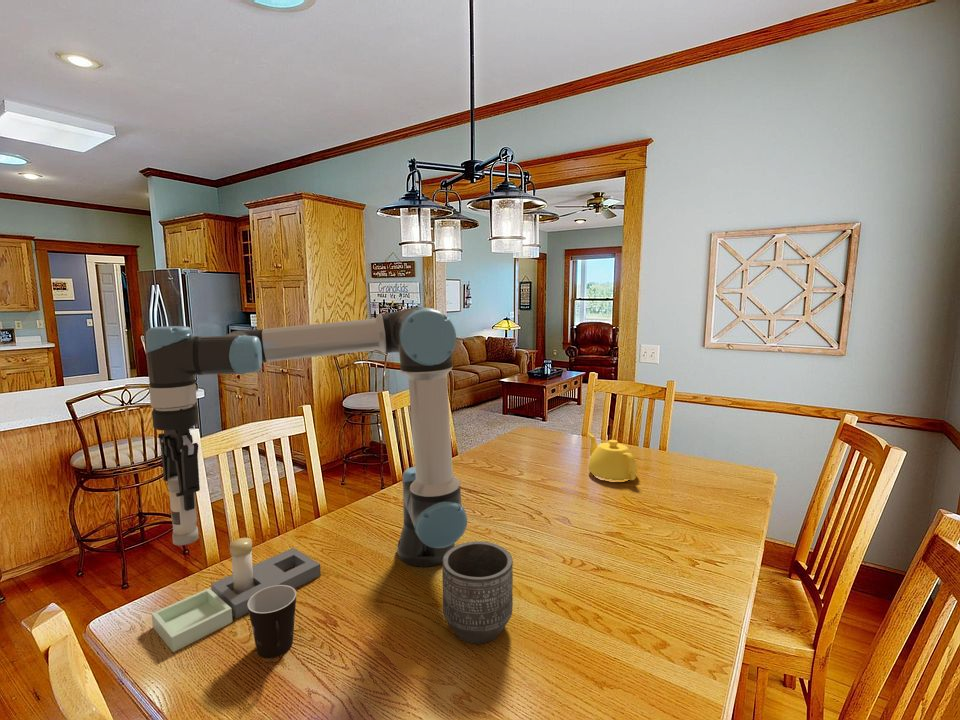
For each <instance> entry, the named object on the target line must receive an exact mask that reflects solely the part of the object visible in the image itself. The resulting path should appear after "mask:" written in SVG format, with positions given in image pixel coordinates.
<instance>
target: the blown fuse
mask: <svg viewBox="0 0 960 720" xmlns="http://www.w3.org/2000/svg"><path fill="white" fill-rule="evenodd" d="M167 489H168V492H169V491H170V494H169V500H170V499H171V506H170V515H171V514H172V518H171V523H172V535H171V536H172V544H173V545H175V546H185V545H190V544H193V543H194V542H196V541H197V540H198V539H199V527H198V526H197V523H194V524H191V525H188V526H185V527H181V524H180V512H179V500H178V497H177V496H176V493H180V489H179V482H178V476H177V475H176V476H173V477H170V478H169V479H168V485H167Z"/></svg>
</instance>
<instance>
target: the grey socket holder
mask: <svg viewBox="0 0 960 720" xmlns="http://www.w3.org/2000/svg"><path fill="white" fill-rule="evenodd" d="M252 541H253V540H252V538H250V537H240V538H237V539H234V540H233V541H231V542H229V553H230V554H229V555H230V556H231V567H232V568H231V569H232V574H231V575H228V576H225V577H224V578H221V579H219V580H216V581H214V582H211V583H210V584H211V585H210V587H211V588H210V589H211V590H212V591H213V592H214V593H215V594H216V595H217V596H218V597H220V598H221V599H222V600H223V601H224V602H225V603H226V604H227V605H228V606H230V607H231V608H232V617H234V618H235V619H238V618H240V617H242V616H245V615H246V614H249V611H248V607H247V603H248V600H249V599H250V598H251V597H252V596H253V595H254V594H255V593H256V592H258V591H260V590H262V589H264V588H267V587H270V586H275V585H287V586H291V587H293V588H294V589H295V590H296V589H297V588H299V587H301V586H303V585H305V584H307V583H309V582H311V581H313V580H314V579H317V578H319V577H321V576H322V575H321V573H322V572H321V563H319V562H317V561H316V560H314V559H313V558H311V557H309V556H308V555H307V554H304V552H301V551H300V550H298V549H297V548H295V547H292V548H289V549H288V550H285V551H283V552H280V553H278V554H276V555H273V556H272V557H269V558H266V559H264V560H262V561H260V562H257V563H256V564H253V556H252V555H253V554H252V553H253V552H252V551H253V542H252ZM293 567H294V568H293Z"/></svg>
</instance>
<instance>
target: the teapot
mask: <svg viewBox="0 0 960 720" xmlns="http://www.w3.org/2000/svg"><path fill="white" fill-rule="evenodd" d="M587 435H588V437H589V438H590V446H589V455H590V457H589V460H588V464H587V469H588V472H589V473H590V472H591V473H592V474H593V475H595V476H598V477H601V478H605V479H612V480H624V479H629V480H630V481H634V480H635V479H636V476H637V473H638V468H637V462H636V460H635V457H634V455H633V453H632V451H630V449H629V448H628V446H627V445H625V444H622V443H620V442H619V441H618V440H616V439H609V440H607V441H608V442H602V443H599V444H598V443H597V439H596V436H594V434H592V433H591V432H587ZM591 473H590V474H591ZM592 474H591V475H592ZM593 475H592V476H593ZM635 475H636V476H635Z"/></svg>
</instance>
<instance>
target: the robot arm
mask: <svg viewBox="0 0 960 720" xmlns="http://www.w3.org/2000/svg"><path fill="white" fill-rule="evenodd" d="M145 332H146V333H145V347H146V348H145V349H146V350H145V354H146V355H145V356H146V362H147V363H146V364H147V371H148V372H147V373H148V381H149V382H148V383H149V386H148V388H149V390H148V391H149V402H150V406H151V408H153V410H151V417H152V418H151V419H152V420H151V421H152V428H153V429H155V430H156V431H163V432H161V433H158V437H157V438H158V440H159V444H160V453H161V463H162V473H163V474H162V475H163V481H164V482H165V483H166V482H167V483H166V485H167V486H168V479H169V478H170V477H173V476H176V475H177V476H178V482H179V489H180V493H176V496H177V497H178V500H179V512H180V524H181V527H185V526H188V525H191V524H194V523H196V524H198V516H197V515H198V513H197V503H196V502H197V500H196V493H197V492H200V490H201V487H200V473H199V470H200V469H199V459H198V458H199V457H198V454H199V444H198V443H197V442H194V439H193V435H192V434H191V431H190V429H191V428H192V427H194V426H196V425H198V423H199V421H200V420H199V419H200V418H199V409H198V408H199V407H198V405H196V404H197V402H198V400H197V392H198V391H199V387H198V386H197V385H196V381H197V380H196V376H205V375H237V374H238V375H245V374H250V373H251V374H252V373H258V372H259V371H260V370H261V369H262V363H269V362H279V361H280V362H281V361H287V360H298V359H304V358H305V359H307V358H314V357H315V358H316V357H326V356H334V355H343V354H352V353H361V352H371V351H380V352H382V353H383V354H389V353H398V354H399V363H400V364H399V366H400V367H399V368H400V372H401V373H402V374H404V375H405V376H406V377H407V379H408V390H409V391H408V392H409V404H410V406H409V407H410V417H411V429H412V431H411V433H412V445H413V446H412V447H413V457H414V458H413V459H414V466H412V467H409V468H407V469H404V471H403V473H402V481H401V483H402V497H403V498H402V500H403V501H402V503H403V505H402V508H403V509H402V510H403V525H402V530H401V533H400V537H399V540H398V542H397V556H398V558H399V560H400V561H401V562H403V563H405V564H406V565H409V566H412V567H423V568H424V567H427V568H428V567H433V566H434V567H435V566H437V565H441V564H443V557H444V555H445V553H446V552H447V551H448V550H449V549H451V548H453V547H455V546H456V542H458V541H459V540H460V538H461V537H463V535H464V534H465V532H466V530H467V526H468V517H467V516H468V515H467V512H466V510H465V508H464V506H463V504H462V492H461V489H462V488H461V481H460V480H459V478H457V477H456V476H455V475H454V470H453V455H452V454H453V453H452V437H451V423H450V406H449V392H448V377H447V376H448V375H449V373H450V371H451V370H452V369H453V367H454V363H453V352H454V349H455V348H456V345H457V344H456V343H457V332H456V329H455V326H454V324H453V322H452V320H451V319H450V318H449V317H448V316H447V315H446V314H444V313H443V312H442V311H440V310H438V309H436V308H433V307H420V306H416V307H410V308H406V309H405V308H404V309H401V310H398V311H397V310H396V311H392V312H386V313H379V314H378V315H377V316H376V317H375V318H368V319H366V318H364V319H356V320H354V319H353V320H345V321H343V320H342V321H334V322H325V323H315V324H313V323H311V324H305V325H304V324H303V325H292V326H281V327H272V328H271V327H270V328H263V329H251V330H250V329H249V330H246V329H239V330H238V329H237V330H233V331H232V332H229V333H227V334H226V335H217V336H215V335H213V336H198V335H197V336H196V335H195V336H194V333H193V330H192V328H191V327H189V326H187V325H186V326H185V325H183V326H181V325H180V326H178V325H173V326H172V325H169V326H167V325H166V326H154V327H150V328H149V329H147V331H145ZM168 492H169V495H170V491H169V490H168ZM169 503H170V507H171V499H170V498H169ZM170 515H171V516H170V517H171V519H172V514H171V513H170Z"/></svg>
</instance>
